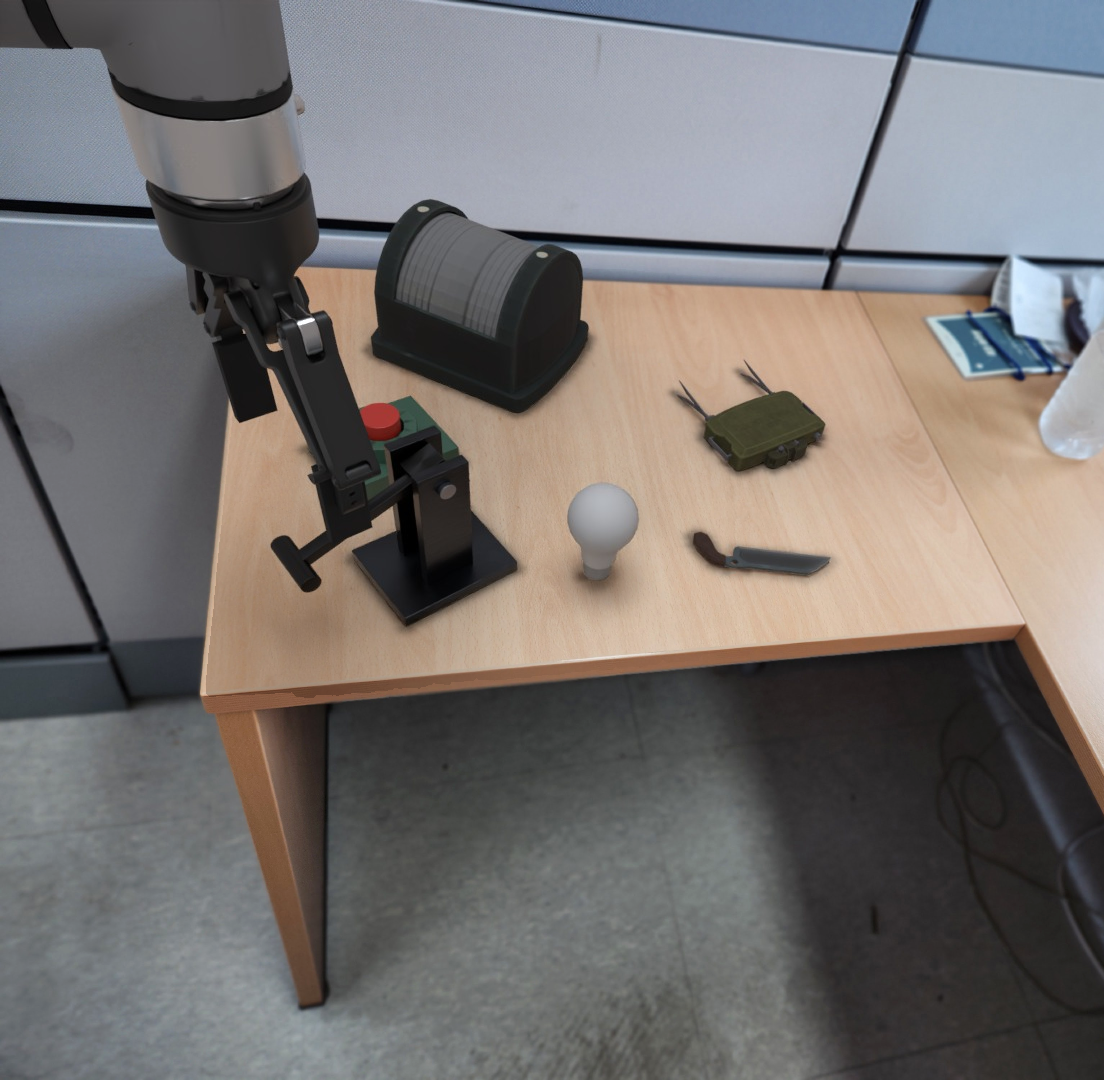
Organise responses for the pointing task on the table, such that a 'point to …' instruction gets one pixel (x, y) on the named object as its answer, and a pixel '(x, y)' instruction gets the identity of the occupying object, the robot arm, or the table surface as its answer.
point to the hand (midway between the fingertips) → (301, 470)
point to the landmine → (761, 428)
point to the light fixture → (477, 307)
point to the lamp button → (381, 421)
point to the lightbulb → (602, 526)
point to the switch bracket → (432, 537)
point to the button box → (411, 422)
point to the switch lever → (302, 558)
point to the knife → (759, 558)
